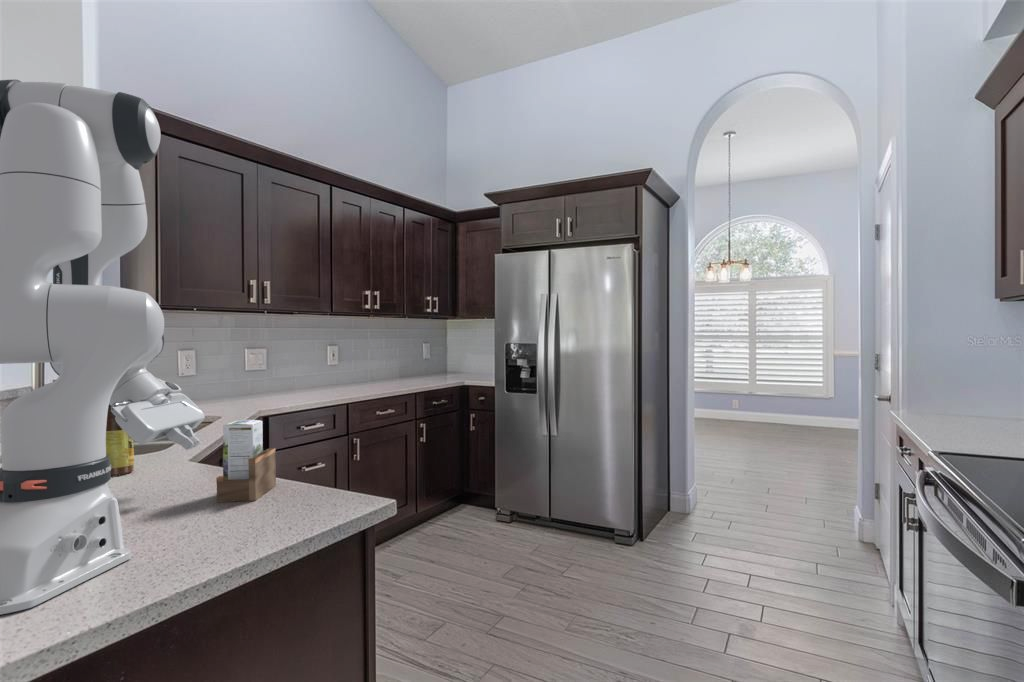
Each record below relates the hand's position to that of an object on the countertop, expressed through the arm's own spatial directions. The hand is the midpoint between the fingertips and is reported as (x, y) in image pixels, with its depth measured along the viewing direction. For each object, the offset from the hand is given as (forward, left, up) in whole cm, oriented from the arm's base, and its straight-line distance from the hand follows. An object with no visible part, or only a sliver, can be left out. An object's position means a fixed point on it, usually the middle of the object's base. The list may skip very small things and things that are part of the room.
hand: (194, 446), depth 106 cm
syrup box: (+1, -9, -10) cm, 14 cm away
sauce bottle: (+22, +29, -10) cm, 37 cm away
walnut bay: (0, -9, -10) cm, 14 cm away
